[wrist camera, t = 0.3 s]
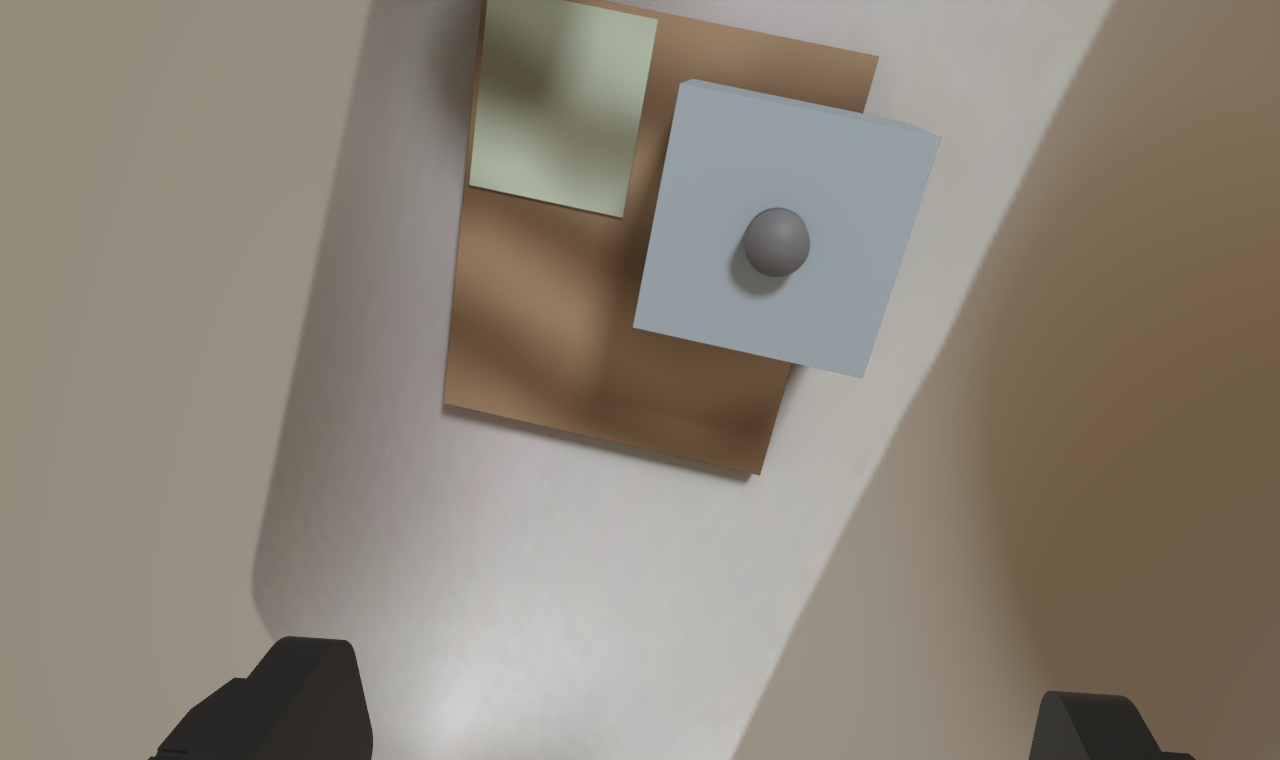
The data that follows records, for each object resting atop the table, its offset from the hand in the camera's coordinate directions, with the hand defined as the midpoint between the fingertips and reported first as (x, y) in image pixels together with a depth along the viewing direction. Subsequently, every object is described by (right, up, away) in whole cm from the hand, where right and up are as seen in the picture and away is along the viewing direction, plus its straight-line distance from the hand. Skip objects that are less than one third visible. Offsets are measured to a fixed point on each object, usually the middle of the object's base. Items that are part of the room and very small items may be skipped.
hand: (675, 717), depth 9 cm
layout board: (0, +10, +25) cm, 27 cm away
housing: (+5, +11, +22) cm, 25 cm away
